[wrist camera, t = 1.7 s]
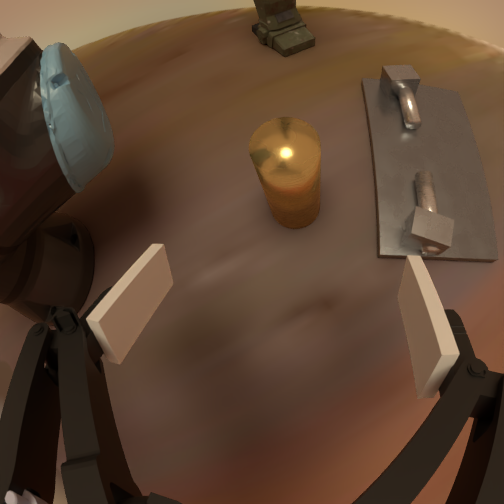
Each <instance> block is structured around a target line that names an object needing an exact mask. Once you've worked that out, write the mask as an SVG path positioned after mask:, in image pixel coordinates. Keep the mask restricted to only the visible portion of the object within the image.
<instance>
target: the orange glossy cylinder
mask: <svg viewBox="0 0 504 504" xmlns="http://www.w3.org/2000/svg"><path fill="white" fill-rule="evenodd" d="M249 153H250V156H251V159H252V161H253V164H254V166H255V169H256V172H257V174H258V177H259V180H260V182H261V185H262V188H263V190H264V193H265V196H266V198H267V201H268V204H269V206H270V209H271V212H272V214H273V217H274V218H275V220H276V221H277V222H278V223H279V224H281V225H282V226H284V227H287V228H291V229H300V228H303V227H306V226H308V225H310V224H311V223H312V222H313V221H314V220H315V219H316V217H317V216H318V213H319V210H320V163H321V153H320V138H319V136H318V134H317V132H316V130H315V129H314V128H313V127H312V126H311V125H309V124H308V123H306V122H305V121H302V120H300V119H297V118H291V117H282V118H276V119H273V120H270V121H268V122H266V123H264V124H262V125H261V126H260V127H259V128H258V129H257V130H256V131H255V132H254V133H253V135H252V137H251V139H250V143H249Z"/></svg>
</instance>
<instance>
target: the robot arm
mask: <svg viewBox="0 0 504 504" xmlns="http://www.w3.org/2000/svg"><path fill="white" fill-rule="evenodd" d="M113 153H114V137H113V132H112V129H111V125H110V122H109V119H108V117H107V114H106V112H105V109H104V107H103V105H102V102H101V100H100V98H99V96H98V94H97V92H96V90H95V88H94V86H93V84H92V82H91V80H90V78H89V76H88V74H87V73H86V71H85V69H84V67H83V66H82V64H81V63H80V61H79V60H78V58H77V57H76V55H75V54H74V53H72V52H71V50H70V49H69V47H68V46H67V45H65V44H64V43H59V42H58V43H55V44H53V45H49V46H47V47H46V48H45V49H44V50H41V49H40V48H39V46H38V45H37V44H36V43H35V41H34V40H33V39H32V38H31V37H17V38H6V37H4V36H2V35H1V34H0V303H2V304H6V305H9V306H10V307H12V308H13V309H15V310H17V311H18V312H20V313H21V314H23V315H24V316H26V317H28V318H29V319H31V320H33V321H34V322H37V324H36V325H34V326H33V327H32V328H31V329H30V330H29V332H28V334H27V337H26V340H25V342H24V345H23V347H22V350H21V353H20V356H19V358H18V361H17V364H16V367H15V370H14V373H13V376H12V379H11V382H10V386H9V389H8V392H7V396H6V400H5V403H4V407H3V411H2V414H1V419H0V504H53V499H54V493H55V477H56V460H57V448H58V438H59V430H60V422H61V420H62V429H63V437H64V444H65V451H66V457H67V461H66V462H65V463H62V465H61V474H62V479H63V484H64V489H65V494H66V498H67V502H68V504H182V503H180V502H178V501H176V500H172V499H169V498H166V497H163V496H161V495H158V494H155V493H152V492H151V493H150V495H149V496H142V494H141V492H140V490H139V488H138V487H137V485H136V484H135V482H134V481H133V479H132V477H131V474H130V471H129V468H128V465H127V462H126V459H125V455H124V452H123V449H122V445H121V442H120V438H119V435H118V431H117V427H116V423H115V419H114V415H113V411H112V407H111V403H110V398H109V393H108V389H107V384H106V378H105V373H104V368H103V362H102V360H101V358H100V357H101V356H102V354H103V353H104V354H105V356H106V358H107V360H108V361H110V362H113V363H117V364H121V363H122V361H123V360H124V358H125V357H126V355H127V353H128V352H129V350H130V349H131V347H132V346H133V344H134V342H135V341H136V339H137V338H138V336H139V335H140V333H141V332H142V330H143V329H144V327H145V326H146V324H147V323H148V321H149V320H150V318H151V317H152V315H153V313H154V312H155V310H156V309H157V308H158V306H159V305H160V303H161V302H162V300H163V299H164V297H165V296H166V294H167V293H168V291H169V290H170V288H171V287H172V285H173V284H174V283H173V279H172V275H171V271H170V267H169V263H168V259H167V255H166V251H165V246H164V244H152V245H151V246H150V247H149V248H148V249H147V250H146V251H145V252H144V253H143V254H142V256H141V257H140V258H139V259H138V260H137V261H136V262H135V263H134V264H133V265H132V266H131V268H130V269H129V270H128V271H127V272H126V273H125V274H124V275H123V276H122V277H121V279H120V280H119V281H118V282H117V283H116V284H115V285H114V287H110V288H108V289H107V290H105V291H104V292H103V293H102V294H101V295H100V296H99V297H98V299H96V300H95V302H94V303H93V305H91V306H90V307H89V309H88V310H87V311H86V312H85V313H84V314H83V316H82V317H81V318H80V319H79V318H78V316H77V312H78V311H79V310H80V308H81V307H82V305H83V303H84V301H85V299H86V297H87V295H88V292H89V289H90V286H91V282H92V277H93V270H94V250H93V244H92V240H91V237H90V235H89V232H88V231H87V229H86V227H85V226H84V225H83V224H82V223H81V222H80V221H78V220H76V219H74V218H73V217H71V216H69V215H67V214H63V213H55V211H56V210H57V209H58V208H59V207H60V206H62V205H63V204H64V203H65V202H66V201H67V200H68V199H70V198H71V197H72V196H73V195H74V194H75V193H80V192H82V191H83V190H84V188H85V185H86V184H87V183H88V182H89V181H91V180H92V179H93V178H94V177H95V176H96V175H97V174H99V173H100V172H101V171H102V170H103V169H104V168H105V167H106V166H107V165H108V164H109V163H110V161H111V159H112V157H113ZM397 299H398V303H399V307H400V311H401V315H402V320H403V324H404V328H405V333H406V337H407V342H408V347H409V352H410V357H411V362H412V368H413V373H414V379H415V385H416V392H417V398H418V399H419V398H433V397H434V396H435V395H436V393H437V391H438V390H439V392H440V399H439V400H438V402H437V403H436V405H435V406H434V407H433V409H432V411H431V412H430V414H429V415H428V417H427V418H426V419H425V421H424V422H423V424H422V425H421V426H420V428H419V429H418V430H417V432H416V433H415V434H414V436H413V437H412V438H411V439H410V441H409V442H408V443H407V445H406V446H405V447H404V448H403V449H402V451H401V452H400V453H399V454H398V455H397V457H396V458H395V459H394V460H393V461H392V462H391V464H390V465H389V466H388V467H387V468H386V469H385V470H384V472H383V473H382V474H381V475H380V476H379V477H378V478H377V479H376V480H375V481H374V482H373V483H372V484H371V485H370V486H369V487H368V488H367V489H366V490H365V491H364V492H363V493H362V494H361V495H360V496H359V497H358V498H357V499H356V500H355V501H354V502H353V503H352V504H411V503H412V501H413V500H414V499H415V498H416V496H417V495H418V494H419V493H420V491H421V490H422V489H423V487H424V486H425V485H426V484H427V482H428V481H429V480H430V478H431V477H432V475H433V474H434V473H435V471H436V470H437V468H438V467H439V465H440V464H441V462H442V461H443V460H444V458H445V456H446V455H447V453H448V452H449V450H450V449H451V447H452V445H453V444H454V442H455V441H456V439H457V437H458V436H459V434H460V432H461V430H462V429H463V427H464V425H465V423H466V421H467V420H468V418H469V417H473V418H474V421H473V425H472V429H471V432H470V436H469V440H468V443H467V446H466V450H465V453H464V456H463V459H462V462H461V465H460V468H459V471H458V474H457V476H456V479H455V482H454V484H453V487H452V489H451V492H450V494H449V496H448V499H447V501H446V503H445V504H504V374H501V373H497V372H492V371H489V370H488V367H487V366H486V364H485V363H484V362H483V361H481V360H480V359H477V358H476V357H475V354H474V351H473V348H472V346H471V343H470V340H469V338H468V335H467V334H466V330H465V328H464V325H463V323H462V320H461V318H460V316H459V315H458V314H457V313H456V312H455V311H454V310H444V309H443V306H442V304H441V301H440V299H439V297H438V294H437V292H436V289H435V287H434V285H433V282H432V280H431V278H430V276H429V273H428V271H427V269H426V267H425V265H424V262H423V260H422V258H421V256H413V255H407V258H406V263H405V267H404V272H403V276H402V280H401V285H400V289H399V293H398V297H397ZM48 325H53V326H55V328H56V330H51V329H50V328H49V326H48ZM44 362H45V363H46V367H45V368H44Z"/></svg>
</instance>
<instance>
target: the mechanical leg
mask: <svg viewBox="0 0 504 504" xmlns="http://www.w3.org/2000/svg"><path fill="white" fill-rule="evenodd" d="M254 3H255V6H256V9H257V12H258V15H259V23H258V24H255V25H253V26H252V31H253V32H254V33H255V34H256V35H257V36H258V39H259V41H260V42H261V43H262V44H266V43H267V44H268V46H269V47H271V48H274V49H275V50H276V51H278V52H279V53H280V54H282V55H283V56H284V57H287V56H289V55H291V54H294V53H296V52H299V51H301V50H304V49H307V48H309V47H311V46H314V45H315V37H314V36H313V35H312V34H311V33H310V32H309V31H308V30H307V29H306V24H305V23H304V22H303V21H302V18H301V17H300V14H299V13H298V11H297V9H296V0H254Z"/></svg>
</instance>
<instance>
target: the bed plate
mask: <svg viewBox="0 0 504 504" xmlns="http://www.w3.org/2000/svg"><path fill="white" fill-rule="evenodd" d="M419 82H420V77H419V76H418V74H417V73H416V71H415V70H414V69H413V67H412V66H411V65H393V66H383V67H382V73H381V79H380V80H379V79H368V78H362V83H361V85H362V90H363V96H364V102H365V108H366V114H367V121H368V128H369V136H370V143H371V152H372V161H373V172H374V183H375V197H376V214H377V243H378V258H401V259H406V258H407V255H413V256H421V258H422V259H426V260H450V261H475V262H494V261H496V260H498V253H497V243H496V235H495V227H494V221H493V214H492V208H491V203H490V198H489V193H488V188H487V183H486V179H485V175H484V170H483V166H482V163H481V159H480V155H479V152H478V148H477V145H476V141H475V138H474V135H473V132H472V129H471V126H470V123H469V120H468V117H467V114H466V112H465V109H464V106H463V104H462V101H461V98H460V96H459V94H458V92H456V91H451V90H446V89H441V88H436V87H430V86H425V85H419Z"/></svg>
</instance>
